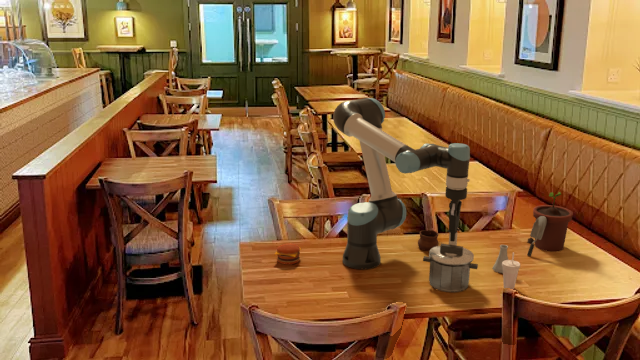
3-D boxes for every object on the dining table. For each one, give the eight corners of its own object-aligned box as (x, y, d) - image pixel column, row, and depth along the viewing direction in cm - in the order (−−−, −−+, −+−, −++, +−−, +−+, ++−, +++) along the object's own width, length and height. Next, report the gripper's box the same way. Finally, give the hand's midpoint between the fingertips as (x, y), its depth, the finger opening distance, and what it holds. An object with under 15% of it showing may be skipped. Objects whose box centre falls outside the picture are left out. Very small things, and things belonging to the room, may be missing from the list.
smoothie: (508, 293, 223) (512, 256, 219) (496, 285, 229) (499, 250, 225) (521, 289, 226) (525, 253, 222) (509, 282, 231) (512, 247, 227)
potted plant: (577, 254, 257) (585, 196, 250) (528, 256, 254) (534, 198, 247) (556, 238, 274) (563, 184, 267) (509, 240, 271) (515, 185, 264)
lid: (424, 261, 224) (425, 250, 223) (433, 245, 238) (434, 235, 237) (470, 268, 219) (470, 257, 217) (476, 251, 233) (477, 241, 232)
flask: (512, 274, 238) (514, 250, 235) (492, 273, 239) (494, 248, 237) (510, 267, 245) (513, 243, 242) (491, 265, 246) (493, 241, 243)
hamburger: (296, 265, 245) (296, 250, 243) (273, 263, 248) (273, 248, 246) (303, 256, 254) (303, 241, 252) (280, 254, 256) (280, 239, 254)
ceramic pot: (425, 236, 276) (425, 221, 273) (458, 248, 263) (459, 233, 261) (397, 247, 264) (398, 232, 262) (430, 261, 252) (431, 245, 249)
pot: (418, 287, 227) (419, 262, 224) (426, 272, 240) (427, 248, 237) (472, 296, 220) (475, 270, 218) (478, 280, 233) (480, 255, 230)
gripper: (464, 193, 215) (459, 256, 222) (469, 183, 227) (465, 243, 234) (442, 190, 218) (438, 253, 225) (449, 181, 230) (445, 240, 236)
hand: (452, 248), depth 229 cm, fingers closed
